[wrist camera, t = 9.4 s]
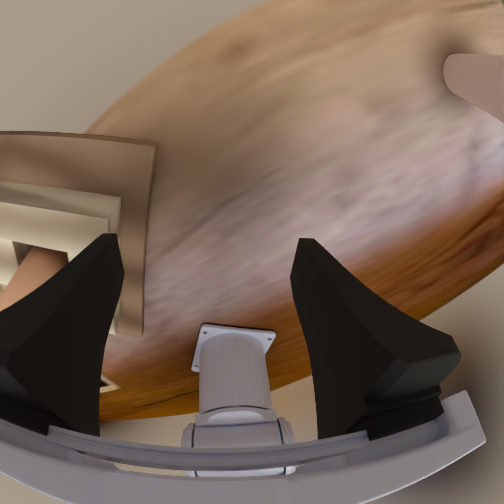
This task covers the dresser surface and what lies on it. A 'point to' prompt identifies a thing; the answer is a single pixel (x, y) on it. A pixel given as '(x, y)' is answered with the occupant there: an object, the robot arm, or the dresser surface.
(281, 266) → the dresser surface
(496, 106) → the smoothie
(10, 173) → the socket
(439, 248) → the dresser surface
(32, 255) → the peg
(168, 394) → the dresser surface
